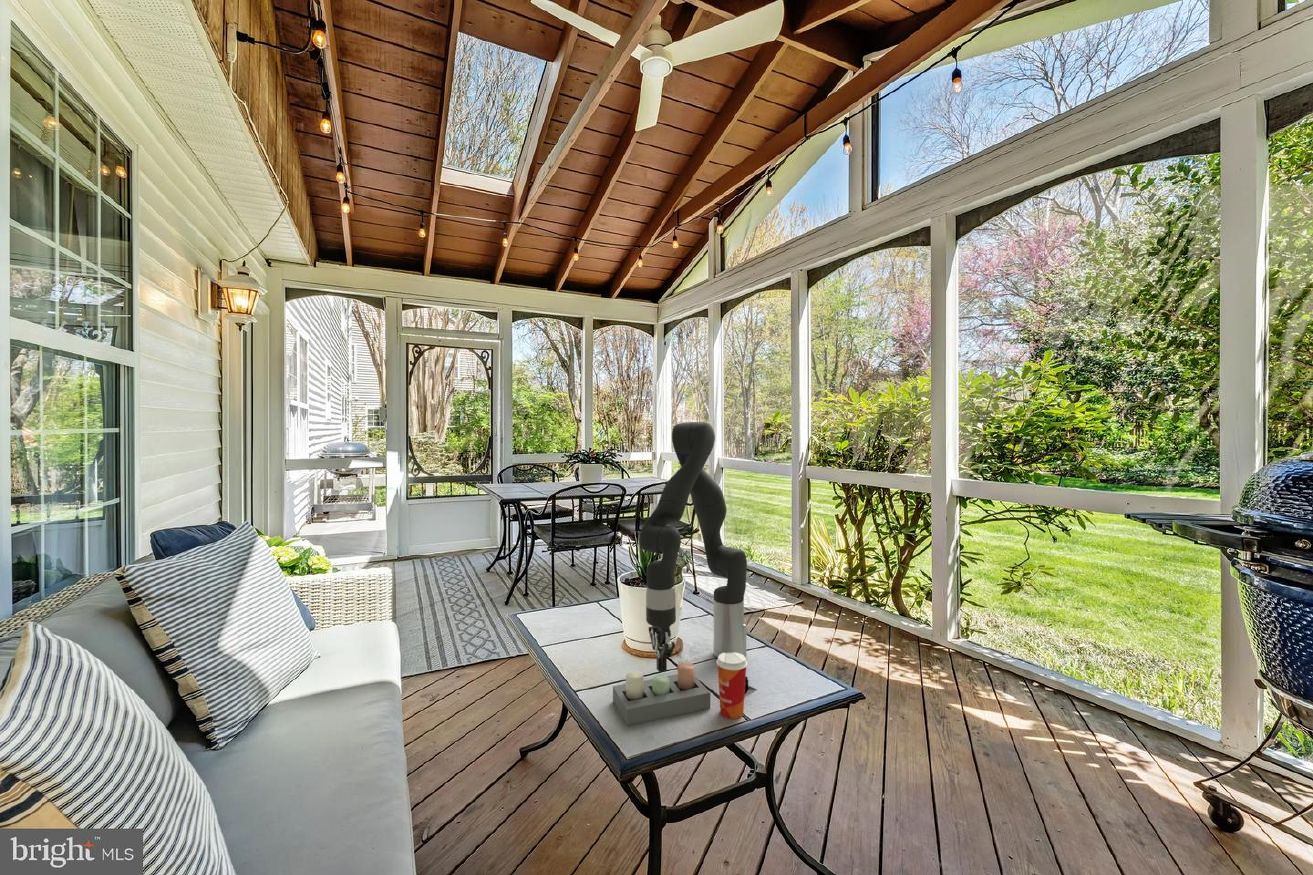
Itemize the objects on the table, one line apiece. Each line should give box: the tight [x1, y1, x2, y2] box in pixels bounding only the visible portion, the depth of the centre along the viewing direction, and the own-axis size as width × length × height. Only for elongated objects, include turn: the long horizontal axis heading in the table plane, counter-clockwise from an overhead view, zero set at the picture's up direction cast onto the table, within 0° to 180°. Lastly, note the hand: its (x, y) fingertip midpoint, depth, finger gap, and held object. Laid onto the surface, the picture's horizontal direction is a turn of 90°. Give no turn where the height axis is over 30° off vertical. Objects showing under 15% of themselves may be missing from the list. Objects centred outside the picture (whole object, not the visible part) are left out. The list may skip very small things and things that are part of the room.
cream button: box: [625, 671, 644, 700], centre depth 139 cm, size 4×4×5 cm
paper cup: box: [716, 652, 748, 720], centre depth 138 cm, size 8×8×14 cm
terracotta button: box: [677, 662, 696, 690], centre depth 144 cm, size 4×4×5 cm
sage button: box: [651, 675, 670, 696], centre depth 142 cm, size 4×4×5 cm
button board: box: [612, 673, 711, 727], centre depth 142 cm, size 22×12×4 cm, turn 111°
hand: (661, 670), depth 142 cm, fingers closed
